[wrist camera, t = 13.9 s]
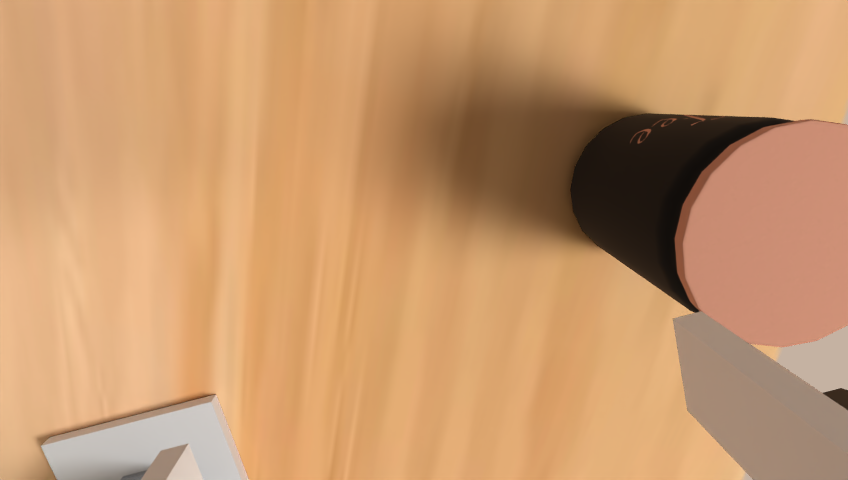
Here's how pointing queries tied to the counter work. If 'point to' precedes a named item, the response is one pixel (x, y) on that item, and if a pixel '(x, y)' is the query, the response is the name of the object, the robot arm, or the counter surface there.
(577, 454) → the counter surface
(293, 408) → the counter surface
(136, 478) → the collar
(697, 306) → the coffee jar
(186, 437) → the panel
